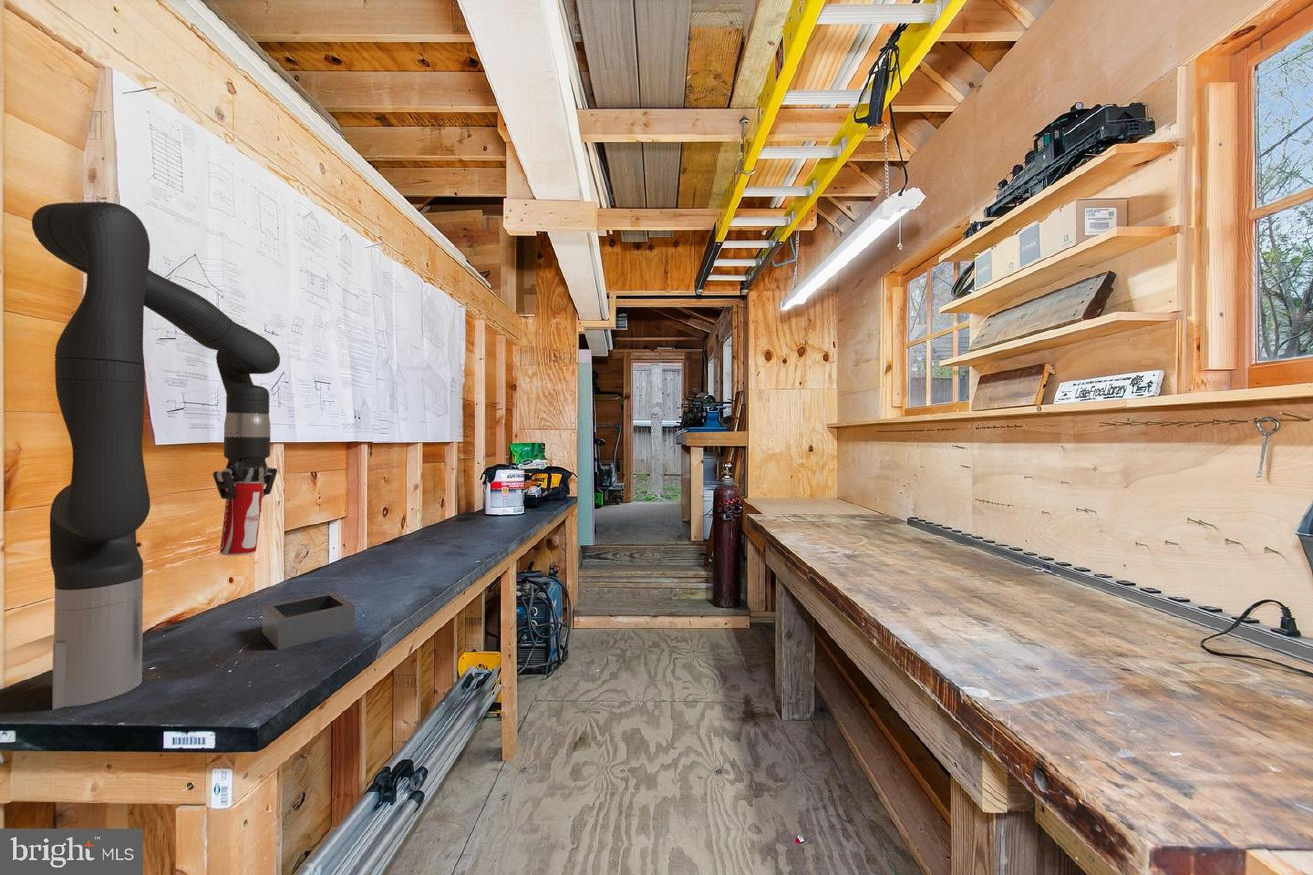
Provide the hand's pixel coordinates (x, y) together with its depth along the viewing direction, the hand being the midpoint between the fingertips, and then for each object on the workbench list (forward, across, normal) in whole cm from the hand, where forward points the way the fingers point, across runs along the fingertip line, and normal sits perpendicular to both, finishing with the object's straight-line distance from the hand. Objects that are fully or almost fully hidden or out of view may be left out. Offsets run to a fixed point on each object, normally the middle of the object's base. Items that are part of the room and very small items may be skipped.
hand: (246, 517), depth 105 cm
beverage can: (+7, -2, 0) cm, 8 cm away
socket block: (+24, -1, -14) cm, 28 cm away
